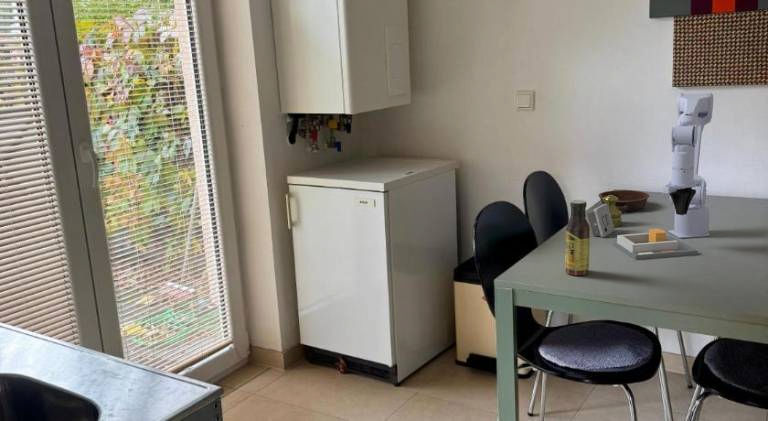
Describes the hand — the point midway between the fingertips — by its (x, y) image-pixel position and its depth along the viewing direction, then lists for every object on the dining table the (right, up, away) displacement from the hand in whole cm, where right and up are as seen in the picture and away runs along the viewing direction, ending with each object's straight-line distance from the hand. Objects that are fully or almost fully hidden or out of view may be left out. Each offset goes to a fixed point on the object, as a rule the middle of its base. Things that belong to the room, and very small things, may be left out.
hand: (681, 214), depth 206 cm
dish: (+1, +2, +53) cm, 53 cm away
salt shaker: (-11, -4, +31) cm, 33 cm away
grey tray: (-7, -10, +2) cm, 13 cm away
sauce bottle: (-34, -16, -15) cm, 40 cm away
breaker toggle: (-6, -9, +2) cm, 11 cm away
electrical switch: (-17, -7, +21) cm, 28 cm away
